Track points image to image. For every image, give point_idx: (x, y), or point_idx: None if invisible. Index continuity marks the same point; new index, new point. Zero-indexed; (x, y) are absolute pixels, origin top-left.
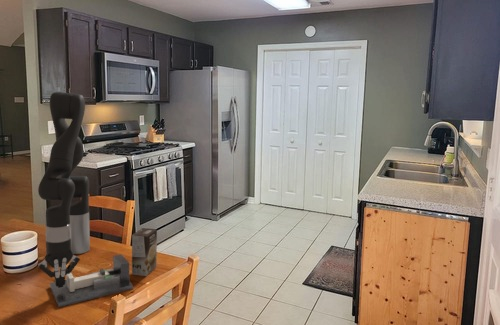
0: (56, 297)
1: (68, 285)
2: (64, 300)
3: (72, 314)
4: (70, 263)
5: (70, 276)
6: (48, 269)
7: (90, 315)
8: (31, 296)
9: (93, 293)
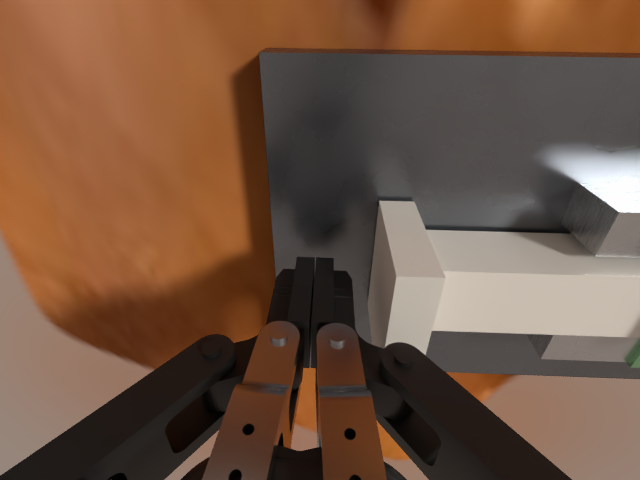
0: None
1: (375, 285)
2: None
3: None
4: (456, 453)
5: None
6: (169, 444)
7: (386, 435)
8: (129, 147)
9: (476, 364)
